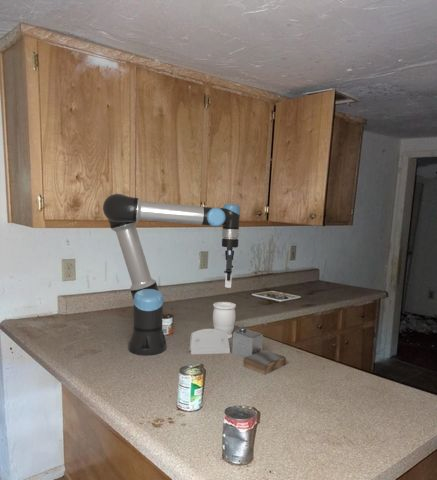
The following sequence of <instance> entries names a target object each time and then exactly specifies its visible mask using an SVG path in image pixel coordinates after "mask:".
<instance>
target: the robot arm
mask: <svg viewBox="0 0 437 480" xmlns="http://www.w3.org/2000/svg"><path fill="white" fill-rule="evenodd" d="M240 208H241V207H240V205H239V204H236V203H235V204H233V203H230V204H229V203H224V204H223V207H210V206H202V205H201V206H200V205H199V206H198V205H188V204H177V203H167V202H156V201H146V200H141V199H140V198H139V197H132V196H128V195H125V194H121V193H115V194H110V195H109V196H108V197H107V198H106V199H105V200H104V202H103V204H102V211H103V213H104V216H105V217H106V219H107V220H108V223H109V226H110V229H111V230H112V231H113V232H115V234H116V237H117V240H118V243H119V246H120V249H121V253H122V255H123V259H124V263H125V266H126V268H127V271H128V275H129V277H130V280H131V286H130V288H129V290H130V293H131V297H132V301H133V327H132V328H133V329H132V330H133V331H132V334H131V336H130V337H131V338H130V339H129V342H128V351H129V352H131V353H132V354H135V355H139V356H140V355H141V356H153V355H157V354H160V353H163V352H164V351H166V349H167V341H166V338H165V334H164V332H163V331H164V330H163V312H164V308H163V307H164V295H163V293H162V291H160V290H159V288H158V284H157V280H156V279H154V278H152V275H151V273H150V272H151V271H150V270H149V266H148V263H147V260H146V256H145V253H144V250H143V245H142V243H141V240H140V236H139V233H138V230H137V224H138V222H139V221H149V222H150V221H151V222H163V223H175V224H176V223H177V224H184V225H185V224H186V225H187V224H189V225H199V226H200V225H201V226H209V227H215V228H216V227H220V226H222V228H221V231H222V232H221V238H222V239H221V247H223V248H226V250H225V252H224V253H225V260H226V265H225V270H224V271H223V273H224V274H225V278H224V279H225V281H224V283H225V284H224V287H225V288H228V289H231V288H232V278H233V277H232V272H233V268H234V265H233V261H234V256H235V251H234V250H233V248H238V247H239V239H238V238H239V237H240V235H239V234H241V231H240V216H241V209H240Z"/></svg>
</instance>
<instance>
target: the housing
mask: <svg viewBox="0 0 437 480" xmlns="http://www.w3.org/2000/svg"><path fill="white" fill-rule="evenodd" d="M263 340H264V335H263V334H261V333H260V332H258V331H254V330H251V329H248V328H247V327H245V326H240V327H239V329H236V330H235V331H232V354H233V355H236V356H238V357H240V358H243V359H244V358H245V357H248V356H250V355H253V354H255V353H258V352H260V351H263V342H264V341H263Z"/></svg>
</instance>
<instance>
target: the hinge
mask: <svg viewBox="0 0 437 480" xmlns="http://www.w3.org/2000/svg"><path fill="white" fill-rule="evenodd" d="M189 340H190V341H189V349H188V351H190V355H212V354H214V355H215V354H216V355H217V354H218V355H219V354H230V353H231V349H230V342H229V339H228V335H227V332H225V331H223V330H219V329H214V328H200V329H198V330H195V331H192V332H191V334H190V339H189Z"/></svg>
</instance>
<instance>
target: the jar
mask: <svg viewBox="0 0 437 480" xmlns="http://www.w3.org/2000/svg"><path fill="white" fill-rule="evenodd" d="M235 308H237V304H236V303H234V302H229V301H217V302H214V303H213V311H212V323H213V324H212V325H213V326H212V327H213V329H219V330H223V331H225V332H227V335H228V340H229V339H231V338H233V332H234V328H235V323H236V315H237V314H236V309H235Z"/></svg>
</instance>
